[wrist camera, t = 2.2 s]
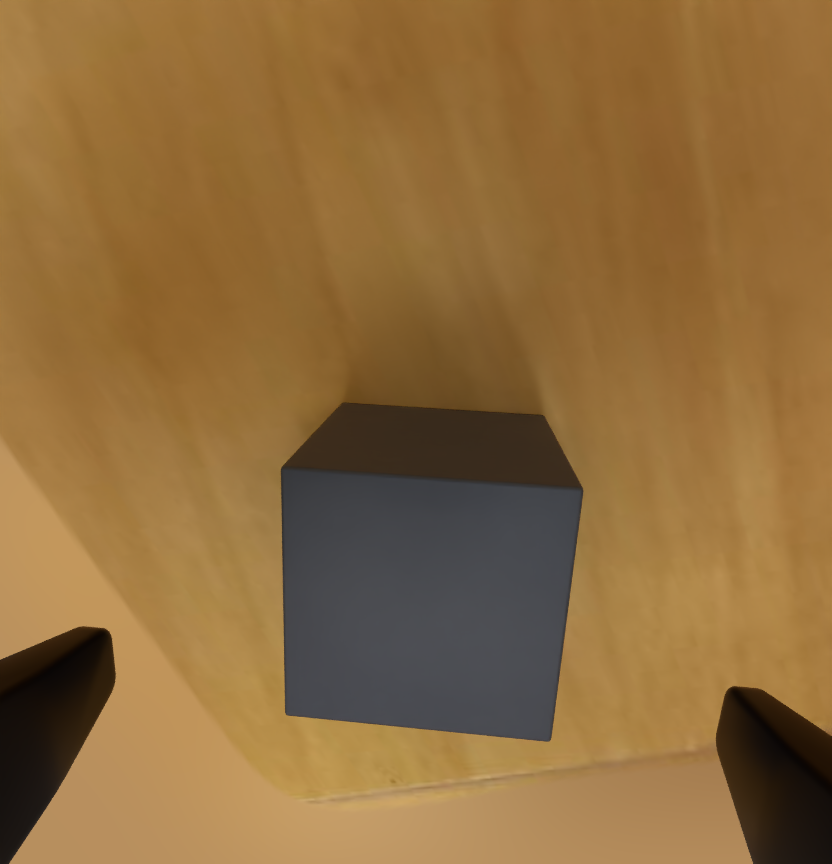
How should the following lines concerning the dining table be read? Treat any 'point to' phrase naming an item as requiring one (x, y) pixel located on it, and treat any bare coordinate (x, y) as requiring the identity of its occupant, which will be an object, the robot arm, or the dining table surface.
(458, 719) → the block
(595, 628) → the dining table surface
